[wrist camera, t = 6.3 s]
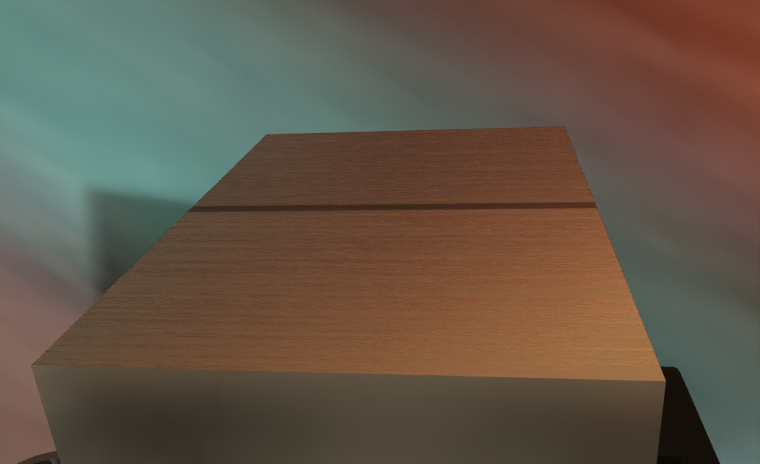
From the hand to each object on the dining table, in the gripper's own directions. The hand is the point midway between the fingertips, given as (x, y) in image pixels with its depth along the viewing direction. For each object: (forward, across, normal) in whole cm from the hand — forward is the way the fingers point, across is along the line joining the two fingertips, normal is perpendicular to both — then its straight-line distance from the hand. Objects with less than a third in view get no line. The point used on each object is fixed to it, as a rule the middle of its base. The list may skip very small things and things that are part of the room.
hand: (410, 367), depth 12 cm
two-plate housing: (+2, 0, 0) cm, 2 cm away
